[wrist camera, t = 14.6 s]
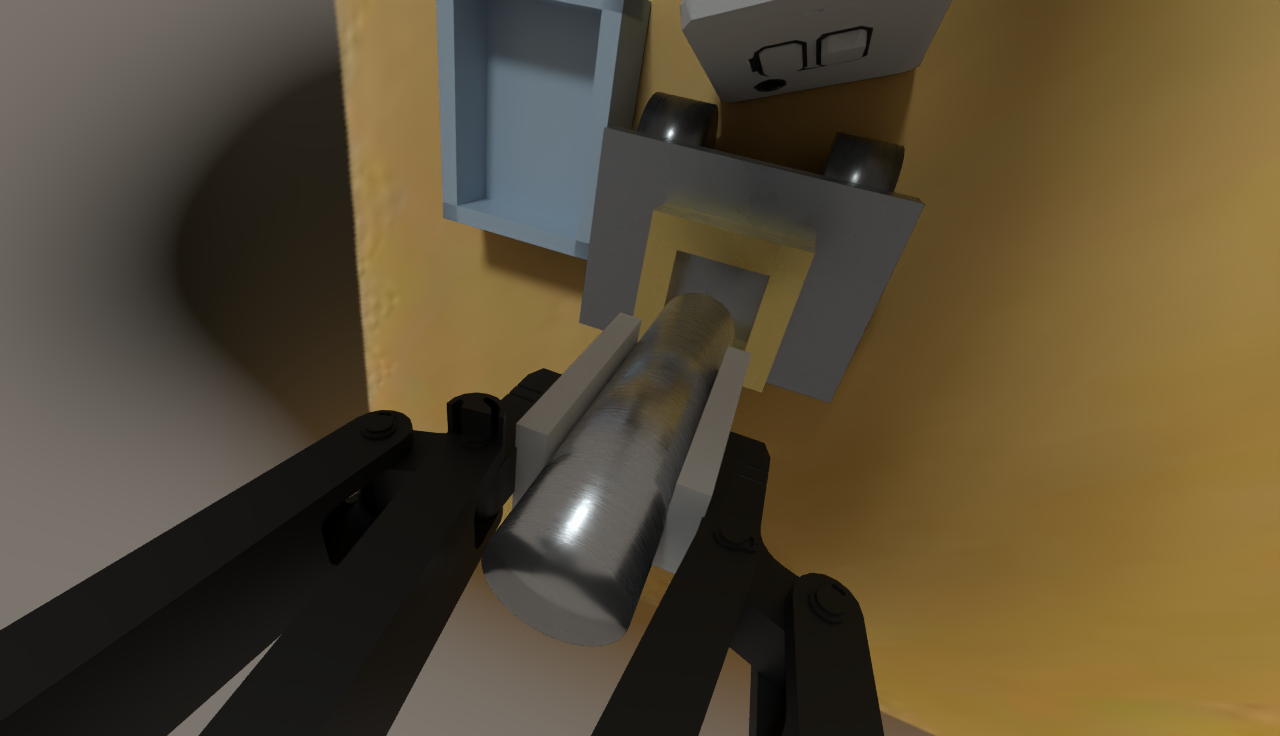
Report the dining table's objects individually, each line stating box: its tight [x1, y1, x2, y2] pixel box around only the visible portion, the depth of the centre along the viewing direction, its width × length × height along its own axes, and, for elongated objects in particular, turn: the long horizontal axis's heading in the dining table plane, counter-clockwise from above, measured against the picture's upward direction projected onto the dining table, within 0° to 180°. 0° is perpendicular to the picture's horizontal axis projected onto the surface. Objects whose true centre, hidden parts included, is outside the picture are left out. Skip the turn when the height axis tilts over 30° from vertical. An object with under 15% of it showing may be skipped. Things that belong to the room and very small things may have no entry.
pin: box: [481, 293, 735, 646], centre depth 14 cm, size 3×3×12 cm
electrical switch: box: [680, 0, 952, 103], centre depth 20 cm, size 9×5×9 cm, turn 99°
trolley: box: [579, 92, 925, 403], centre depth 25 cm, size 13×14×9 cm
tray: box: [436, 0, 651, 260], centre depth 28 cm, size 13×10×4 cm
